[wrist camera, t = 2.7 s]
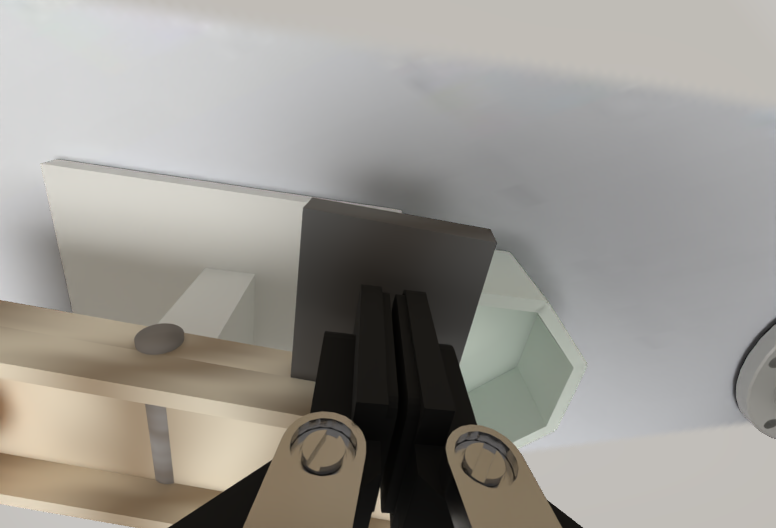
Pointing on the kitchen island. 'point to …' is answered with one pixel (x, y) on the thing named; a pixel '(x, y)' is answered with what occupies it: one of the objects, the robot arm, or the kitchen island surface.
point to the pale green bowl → (518, 357)
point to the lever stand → (178, 251)
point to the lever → (205, 375)
